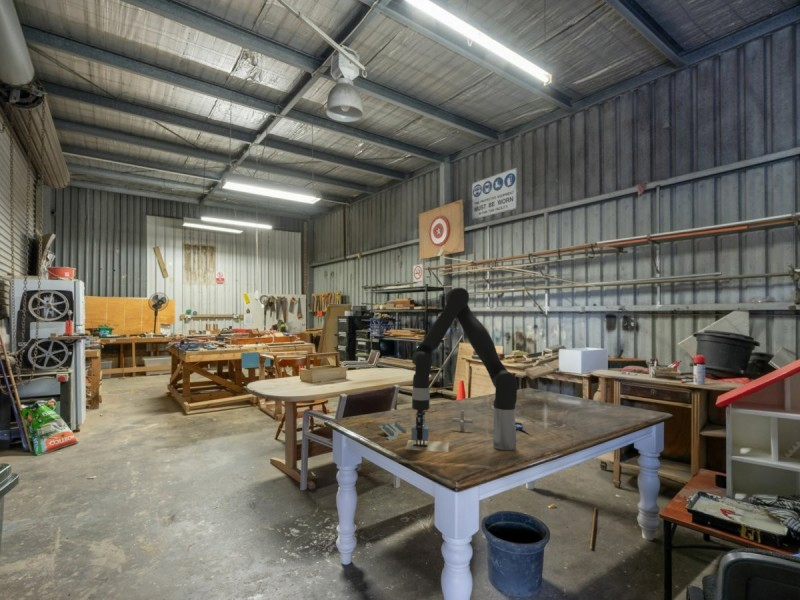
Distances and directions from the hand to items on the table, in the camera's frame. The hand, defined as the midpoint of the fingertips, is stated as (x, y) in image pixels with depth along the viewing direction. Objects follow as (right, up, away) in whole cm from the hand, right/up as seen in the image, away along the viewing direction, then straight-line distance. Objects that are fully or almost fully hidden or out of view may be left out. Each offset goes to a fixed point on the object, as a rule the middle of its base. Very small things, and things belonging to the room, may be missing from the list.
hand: (420, 437), depth 171 cm
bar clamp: (+53, -7, +23) cm, 59 cm away
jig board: (+3, -5, 0) cm, 6 cm away
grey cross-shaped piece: (+22, -6, +28) cm, 36 cm away
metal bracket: (-11, -6, +20) cm, 24 cm away
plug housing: (0, -1, 0) cm, 1 cm away
